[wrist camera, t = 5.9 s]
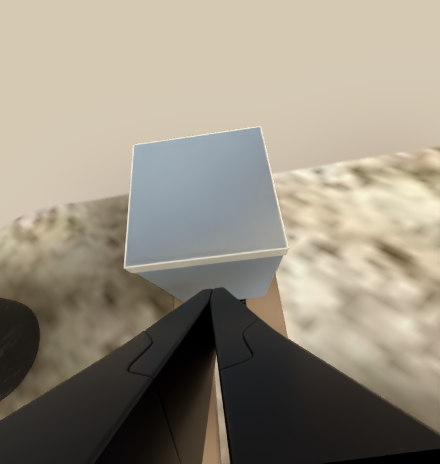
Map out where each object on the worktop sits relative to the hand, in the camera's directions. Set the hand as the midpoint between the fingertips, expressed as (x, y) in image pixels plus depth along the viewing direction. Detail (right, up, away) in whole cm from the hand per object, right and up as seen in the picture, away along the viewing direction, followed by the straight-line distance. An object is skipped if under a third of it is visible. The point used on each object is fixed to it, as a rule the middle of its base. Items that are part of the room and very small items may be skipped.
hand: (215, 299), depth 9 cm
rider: (0, 0, +9) cm, 9 cm away
